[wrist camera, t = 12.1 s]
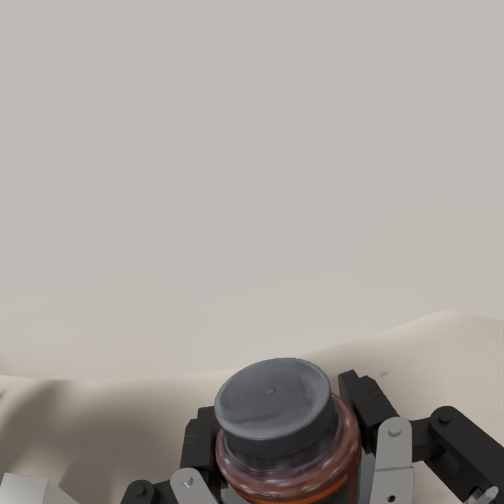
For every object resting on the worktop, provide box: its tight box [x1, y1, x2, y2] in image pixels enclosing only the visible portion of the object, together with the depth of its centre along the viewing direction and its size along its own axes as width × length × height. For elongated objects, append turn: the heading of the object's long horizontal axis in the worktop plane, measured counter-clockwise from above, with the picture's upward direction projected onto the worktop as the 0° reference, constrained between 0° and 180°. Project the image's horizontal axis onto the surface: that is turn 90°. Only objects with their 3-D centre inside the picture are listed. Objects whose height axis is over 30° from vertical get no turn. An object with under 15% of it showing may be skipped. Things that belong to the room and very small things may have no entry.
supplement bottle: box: [214, 358, 362, 504], centre depth 10 cm, size 6×6×11 cm
